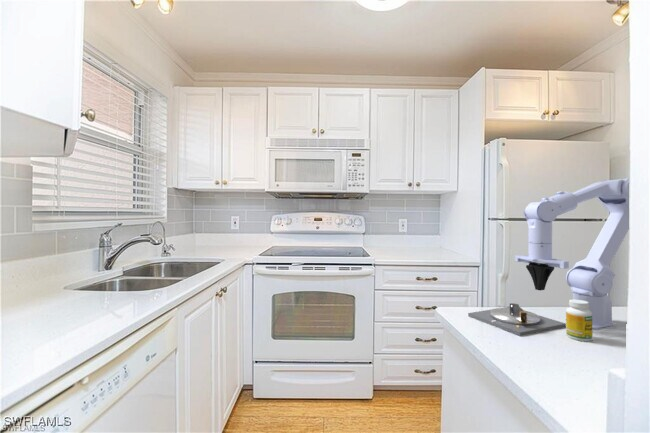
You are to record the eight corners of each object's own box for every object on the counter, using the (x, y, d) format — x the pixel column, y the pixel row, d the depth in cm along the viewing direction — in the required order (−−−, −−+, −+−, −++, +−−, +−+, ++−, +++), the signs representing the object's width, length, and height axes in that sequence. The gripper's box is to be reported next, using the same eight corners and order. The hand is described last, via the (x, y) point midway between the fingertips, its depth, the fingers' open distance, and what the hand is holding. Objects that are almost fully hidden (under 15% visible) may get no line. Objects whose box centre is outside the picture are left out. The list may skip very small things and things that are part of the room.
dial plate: (509, 309, 108) (509, 306, 108) (565, 326, 91) (565, 322, 91) (468, 316, 101) (468, 312, 101) (520, 336, 84) (519, 331, 84)
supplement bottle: (571, 332, 87) (570, 297, 86) (595, 338, 82) (595, 301, 82) (562, 337, 84) (562, 300, 84) (588, 343, 79) (587, 305, 79)
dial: (485, 310, 104) (485, 297, 104) (530, 312, 101) (530, 299, 101) (498, 325, 90) (497, 310, 90) (550, 328, 87) (550, 313, 87)
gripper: (507, 241, 97) (507, 285, 98) (556, 245, 84) (556, 297, 84) (524, 240, 100) (524, 283, 100) (574, 244, 86) (573, 294, 86)
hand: (539, 289), depth 92 cm, fingers closed
